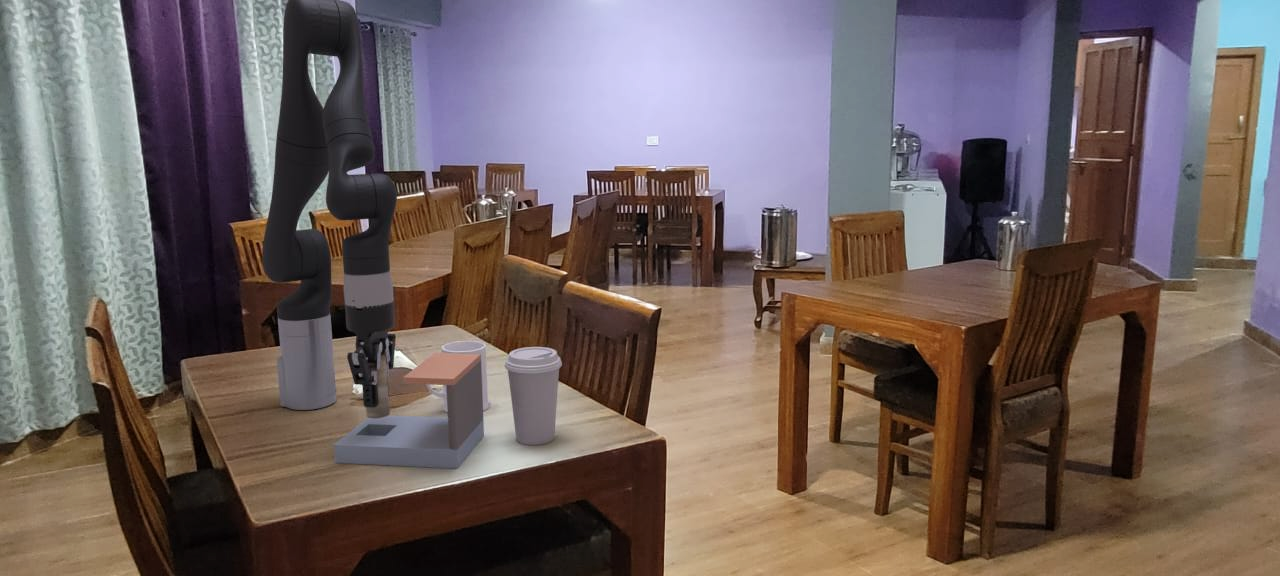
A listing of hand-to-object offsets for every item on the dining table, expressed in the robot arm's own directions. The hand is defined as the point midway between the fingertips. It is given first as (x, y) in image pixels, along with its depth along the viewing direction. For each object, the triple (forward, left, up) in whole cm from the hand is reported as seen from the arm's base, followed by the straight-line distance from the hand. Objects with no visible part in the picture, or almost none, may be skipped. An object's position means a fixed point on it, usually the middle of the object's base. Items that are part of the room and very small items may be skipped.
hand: (376, 401), depth 138 cm
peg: (0, 0, -2) cm, 2 cm away
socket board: (+6, 0, -8) cm, 10 cm away
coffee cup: (+25, +7, -8) cm, 27 cm away
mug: (+7, +20, -8) cm, 23 cm away
